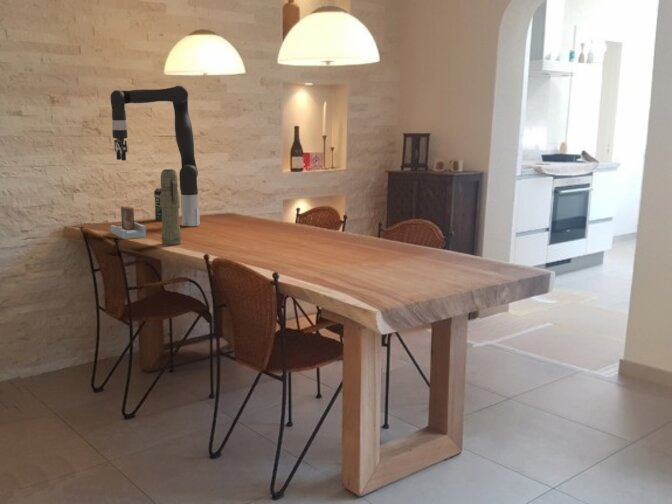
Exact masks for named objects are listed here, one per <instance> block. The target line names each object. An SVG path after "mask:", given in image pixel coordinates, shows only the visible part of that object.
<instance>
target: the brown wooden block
mask: <svg viewBox="0 0 672 504" xmlns="http://www.w3.org/2000/svg"><path fill="white" fill-rule="evenodd" d="M120 216H121V217H120V218H121V226H122V229H124V230H135V227H134V222H135V211H134V207H132V206H129V205H128V206H127V205H126V206H120Z"/></svg>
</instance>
